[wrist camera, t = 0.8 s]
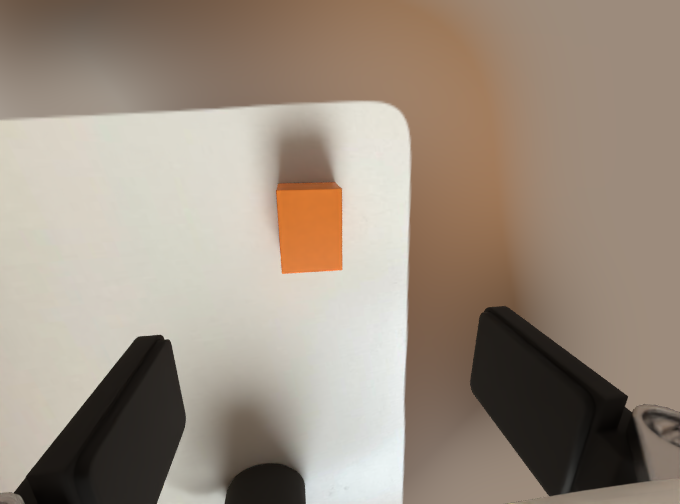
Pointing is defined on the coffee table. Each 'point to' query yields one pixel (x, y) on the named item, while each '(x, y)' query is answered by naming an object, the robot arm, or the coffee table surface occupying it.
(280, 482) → the mug
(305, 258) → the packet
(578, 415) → the robot arm
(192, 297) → the coffee table surface
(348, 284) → the coffee table surface
